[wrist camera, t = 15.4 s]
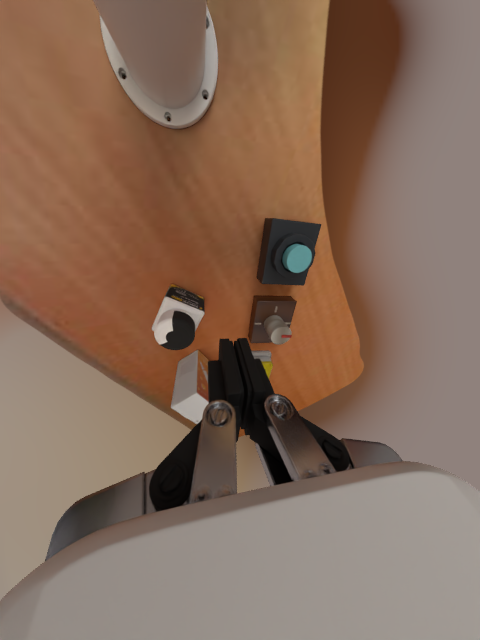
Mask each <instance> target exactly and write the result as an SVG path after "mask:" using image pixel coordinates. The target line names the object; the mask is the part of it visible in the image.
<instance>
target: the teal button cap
mask: <svg viewBox="0 0 480 640" xmlns="http://www.w3.org/2000/svg"><path fill="white" fill-rule="evenodd" d="M311 259H312V254H311V251H310V249H309V248H308V247H306V246H304V245H300V244H293V245H291V246H289V247H288V248H287V249H286V250H285V252H284V254H283V257H282V262H283V265H284V267H285V268H287V269H288V270H290V271H291V272H294V273H300V272H302V271H304V270H305V269H306V268H307V267H308V266H309V265H310V262H311Z"/></svg>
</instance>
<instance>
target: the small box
mask: <svg viewBox="0 0 480 640" xmlns="http://www.w3.org/2000/svg"><path fill="white" fill-rule="evenodd" d="M208 361H209V360H208V359H207V358H206V357H205V356H204V355H203V354H202V353H201V352H200V351H199V350H196V351H195V352H193V353H191V354H190V355H188V356H187V357H185V358H183V359H182V360H180V361H179V362H178V367H177V373H176V379H175V385H174V391H173V397H172V403H171V408H172V409H174V410H175V411H177V412H178V413H180V414H181V415H182V416H184V417H185V418H187V419H189V420H191V421H193V422H194V423H196V424H197V423H199V422H200V421H201V420H202V416H203V412H204V409H205V407H206V406H207V405H208V404H209V399H208Z"/></svg>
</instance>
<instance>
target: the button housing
mask: <svg viewBox="0 0 480 640" xmlns="http://www.w3.org/2000/svg"><path fill="white" fill-rule="evenodd" d="M320 227H321V224H315V223H307V222H298V221H290V220H282V219H274V218H265V224H264V231H263V238H262V245H261V251H260V258H259V265H258V272H257V279H258V280H259V281H260V282H261V283H262V284H282V285H304V284H305V280H306V277H307V273H308V269H309V268H310V267H311V265H312V263H313V260H314V256H315V249H314V248H315V245H316V241H317V238H318V234H319V231H320ZM293 244H300V245H304V246H306V247H308V248H309V249H310V251H311V254H312V259H311V262H310V265H309V266H308V267H307V268H306V269H305V270H304V271H302V272H300V273H294V272H291V271H290V270H288V269H287V268H285V267H284V265H283V262H282V257H283V254H284V252H285V250H286V249H287V248H288V247H289V246H291V245H293Z"/></svg>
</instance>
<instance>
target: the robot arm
mask: <svg viewBox="0 0 480 640" xmlns="http://www.w3.org/2000/svg"><path fill="white" fill-rule="evenodd" d="M93 2H94V4H95V6H96V8H97V10H98V12H99V15H100V24H101V32H102V36H103V41H104V45H105V49H106V52H107V55H108V58H109V60H110V63H111V66H112V68H113V70H114V72H115V74H116V76H117V78H118V80H119V82H120V84H121V86H122V87H123V89H124V91H125V92H126V94H127V95H128V96H129V98H130V99H131V100H132V102H133V103H134V104H135V105H136V106H137V108H138V109H139V110H140V111H141V112H142V113H143V114H144V115H146V116H147V117H148V118H150V119H151V120H152V121H154V122H156V123H158V124H160V125H162V126H165V127H168V128H172V129H182V128H186V127H189V126H191V125H193V124H195V123H196V122H198V121H199V120H200V119H201V118H202V117H203V116H204V114H205V113H206V111H207V110H208V108H209V106H210V104H211V101H212V99H213V96H214V92H215V88H216V83H217V74H218V51H217V41H216V36H215V31H214V26H213V22H212V19H211V16H210V13H209V10H208V7H207V0H93ZM206 27H207V29H206ZM123 76H126V77H127V78H126V79H123ZM204 96H206V97H207V100H205V99H204V98H203V97H204ZM168 117H169V118H171V121H168V120H167V118H168ZM208 399H209V404H208V405H207V406H206V407H205V409H204V412H203V416H202V420H201V421H200V422H199V423H198V424H197V425H196V426H195V427H194V428H193V429H192V430H191V431H190V433H189V434H188V435H187V436H186V437H185V438H184V439H183V440H182V441H181V442H180V443H179V444H178V445H177V446H176V448H175V449H174V450H173V451H172V452H171V453H170V454H169V455H168V456H167V457H166V458H165V459H164V460H163V461H162V462H161V464H160V465H159V466H158V467H157V469H155V470H153V471H150V472H148V473H146V474H145V473H144V472H142V473H140V474H138V475H135V476H133V477H130V478H128V479H126V480H123V481H121V482H119V483H116V484H114V485H112V486H109V487H107V488H104V489H102V490H100V491H97V492H95V493H92V494H90V495H88V496H85V497H84V498H82V499H80V500H79V501H77V502H75V503H74V504H73V505H72V506H71V507H70V508H69V509H68V510H67V511H66V512H65V513H64V514H63V516H62V517H61V519H60V520H59V521H58V523H57V526H56V528H55V530H54V532H53V535H52V538H51V542H50V545H49V549H48V552H47V556H46V559H45V562H44V563H42V564H41V565H40V566H38V567H37V568H36V569H35V570H33V571H32V572H31V573H30V574H28V575H27V576H26V577H25V578H24V579H22V580H21V581H20V582H19V583H18V584H17V585H16V586H15V587H14V588H12V589H11V590H10V591H9V592H8V593H7V594H6V595H5V596H4V597H3V598H2V599H1V601H0V640H480V492H479V491H478V490H477V489H476V488H474V487H473V486H472V485H470V484H469V483H467V482H466V481H464V480H463V479H461V478H460V477H458V476H456V475H454V474H452V473H450V472H447V471H445V470H442V469H440V468H437V467H434V466H430V465H427V464H422V463H418V462H410V461H402V459H401V458H400V457H399V455H398V454H397V453H396V452H395V451H394V450H393V449H391V448H390V447H389V446H387V445H385V444H382V443H378V442H370V441H361V440H353V439H344V438H342V439H341V440H338V439H337V438H335V437H334V436H332V435H331V434H329V433H327V432H326V431H324V430H323V429H321V428H319V427H318V426H316V425H314V424H313V423H311V422H309V421H308V420H306V419H304V418H303V417H301V416H300V415H299V413H298V412H297V410H296V409H295V407H294V406H293V404H292V403H291V401H290V400H289V399H287V398H286V397H285V396H282V395H279V394H275V393H274V391H273V388H272V386H271V383H270V381H269V379H268V376H267V374H266V371H265V369H264V366H263V364H262V362H261V360H260V359H259V358H256V359H254V357H253V354H252V351H251V349H250V346H249V343H248V340H247V338H238V339H237V341H234V346H233V342H232V341H229V339H220V342H219V360H218V361H208ZM240 427H241V429H244V430H245V435H250V439H252V440H253V441H254V442H255V446H256V449H257V452H258V454H259V457H260V460H261V462H262V465H263V468H264V470H265V473H266V475H267V478H268V481H269V484H270V487H265V488H261V489H256V490H251V491H247V492H242V493H238V494H237V471H236V442H237V441H238V436H239V430H240Z"/></svg>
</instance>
